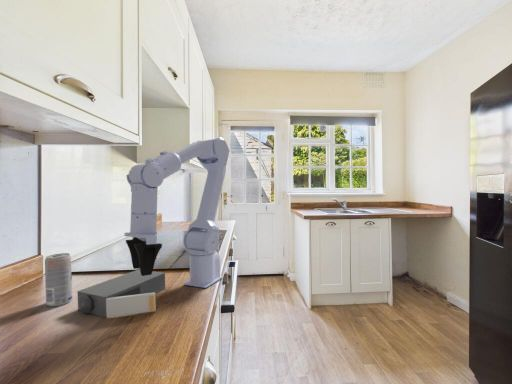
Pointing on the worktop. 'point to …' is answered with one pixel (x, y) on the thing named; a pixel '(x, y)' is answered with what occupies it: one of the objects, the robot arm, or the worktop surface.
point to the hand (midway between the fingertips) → (142, 271)
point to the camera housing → (118, 290)
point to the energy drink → (58, 279)
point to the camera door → (130, 304)
